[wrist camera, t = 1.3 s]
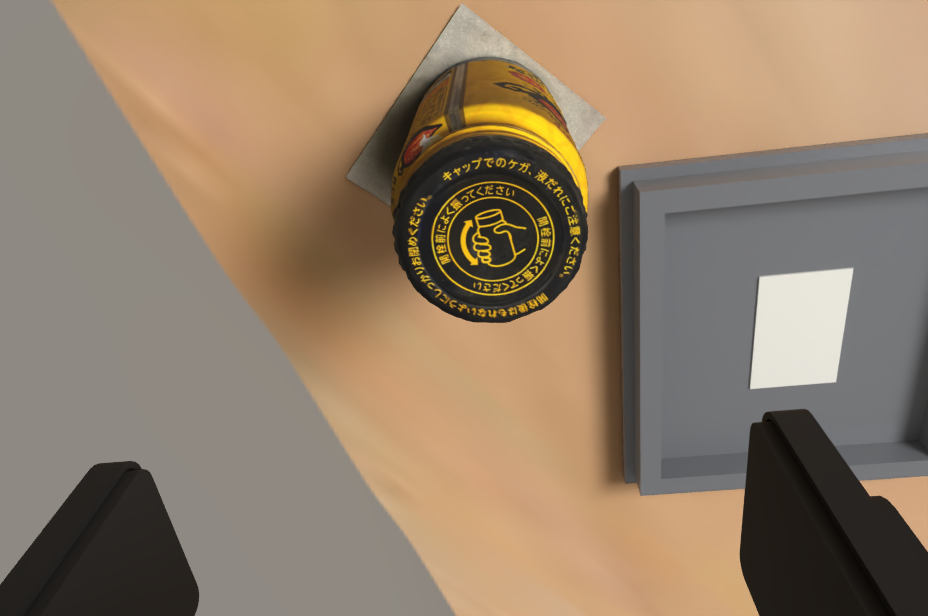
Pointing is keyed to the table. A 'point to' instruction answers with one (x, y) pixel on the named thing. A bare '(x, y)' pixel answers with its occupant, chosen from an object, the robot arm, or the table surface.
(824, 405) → the dock
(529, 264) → the condiment
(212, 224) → the table surface
